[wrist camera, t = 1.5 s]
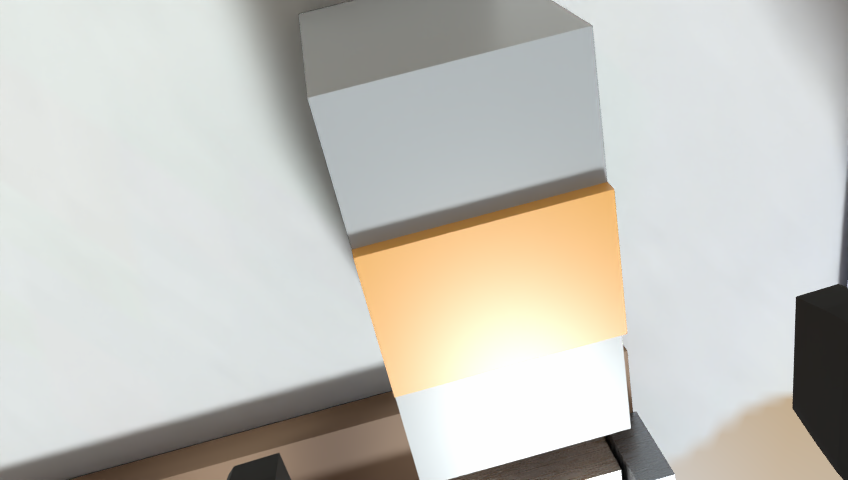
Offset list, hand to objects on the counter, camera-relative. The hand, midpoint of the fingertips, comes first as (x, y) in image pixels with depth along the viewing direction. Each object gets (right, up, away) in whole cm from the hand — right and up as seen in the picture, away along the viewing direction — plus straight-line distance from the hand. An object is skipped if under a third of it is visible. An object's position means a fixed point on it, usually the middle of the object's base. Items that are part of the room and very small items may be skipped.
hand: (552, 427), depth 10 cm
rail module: (-2, +4, +8) cm, 10 cm away
